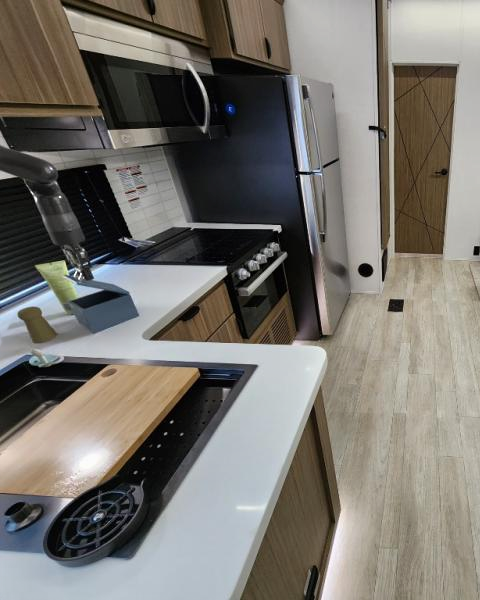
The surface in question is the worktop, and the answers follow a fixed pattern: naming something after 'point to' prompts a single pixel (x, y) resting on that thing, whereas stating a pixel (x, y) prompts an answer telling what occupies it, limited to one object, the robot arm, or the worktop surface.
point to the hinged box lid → (92, 282)
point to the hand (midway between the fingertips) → (86, 277)
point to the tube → (59, 283)
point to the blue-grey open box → (103, 309)
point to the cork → (36, 325)
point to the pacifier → (43, 358)
